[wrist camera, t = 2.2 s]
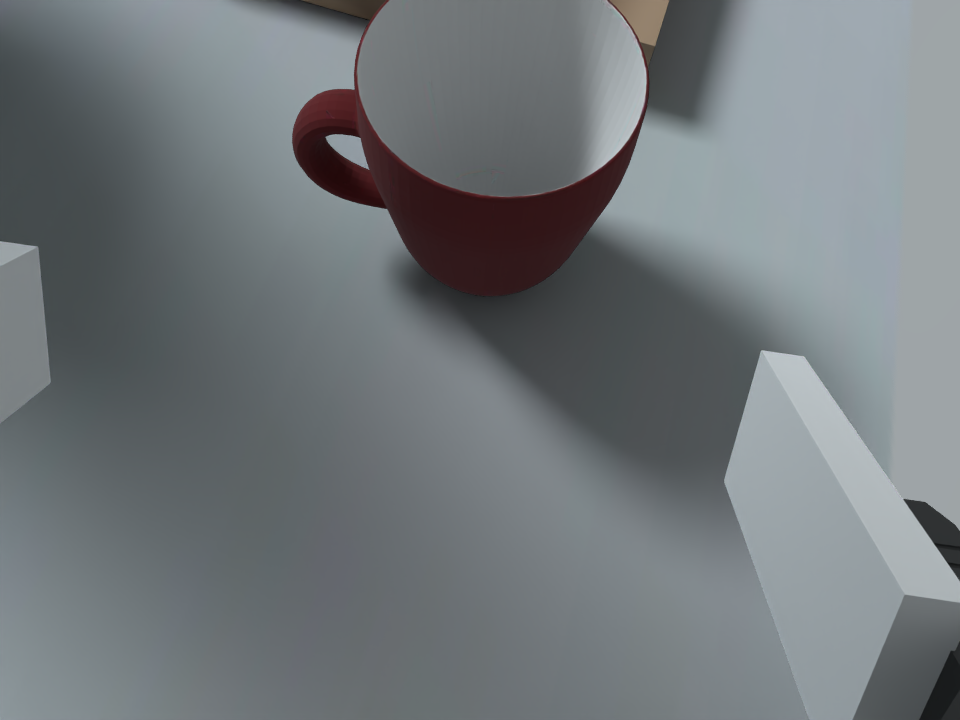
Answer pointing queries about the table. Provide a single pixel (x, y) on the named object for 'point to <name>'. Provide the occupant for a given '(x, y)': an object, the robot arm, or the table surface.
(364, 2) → the plinth
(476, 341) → the table surface
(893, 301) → the table surface
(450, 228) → the mug
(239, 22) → the table surface
